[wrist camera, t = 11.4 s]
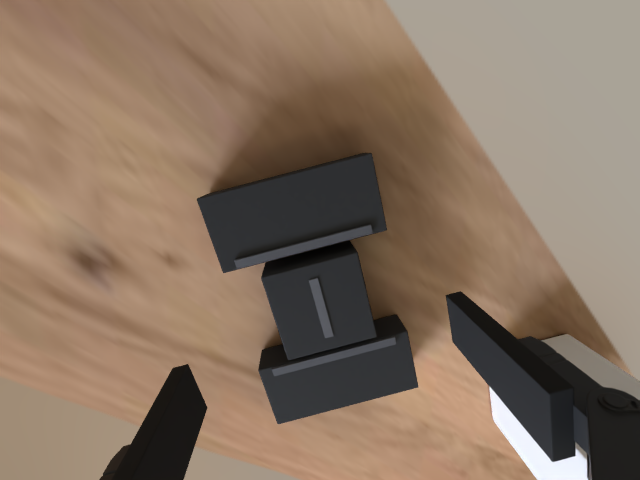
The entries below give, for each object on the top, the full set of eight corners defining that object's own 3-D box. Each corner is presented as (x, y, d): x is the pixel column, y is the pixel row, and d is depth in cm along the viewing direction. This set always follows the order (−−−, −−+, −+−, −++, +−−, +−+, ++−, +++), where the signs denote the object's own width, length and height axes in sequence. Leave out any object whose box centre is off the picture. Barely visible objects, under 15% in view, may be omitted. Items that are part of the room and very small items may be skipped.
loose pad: (265, 262, 23) (260, 277, 20) (350, 240, 23) (357, 252, 20) (288, 337, 25) (287, 361, 22) (368, 316, 25) (377, 337, 22)
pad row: (207, 194, 22) (195, 199, 19) (363, 153, 22) (372, 152, 19) (279, 400, 26) (277, 427, 24) (407, 366, 26) (419, 389, 24)
